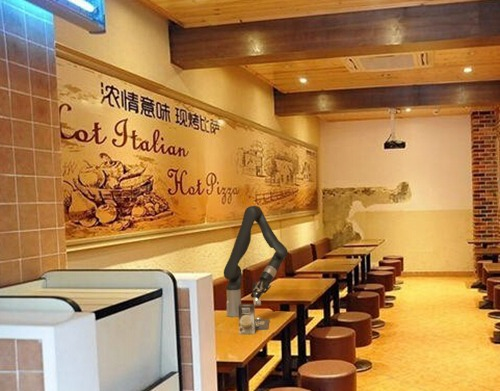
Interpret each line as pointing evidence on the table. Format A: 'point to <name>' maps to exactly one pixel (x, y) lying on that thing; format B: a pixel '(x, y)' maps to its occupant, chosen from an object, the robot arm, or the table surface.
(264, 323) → the plate
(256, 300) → the ball-topped cylinder
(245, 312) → the coffee box
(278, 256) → the robot arm
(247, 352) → the table surface
